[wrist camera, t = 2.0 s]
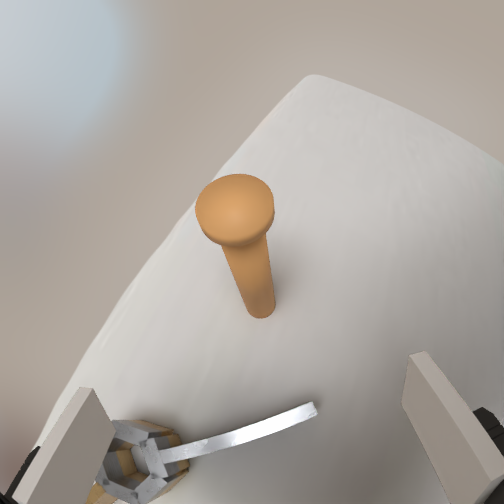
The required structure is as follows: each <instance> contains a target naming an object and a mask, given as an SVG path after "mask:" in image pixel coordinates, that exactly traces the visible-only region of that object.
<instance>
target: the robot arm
mask: <svg viewBox="0 0 504 504" xmlns="http://www.w3.org/2000/svg"><path fill="white" fill-rule="evenodd" d="M401 405H402V407H403V409H404V410H405V412H406V414H407V416H408V418H409V420H410V422H411V424H412V426H413V427H414V429H415V431H416V433H417V435H418V437H419V439H420V441H421V443H422V445H423V447H424V449H425V451H426V453H427V455H428V457H429V459H430V461H431V463H432V465H433V467H434V469H435V471H436V473H437V475H438V478H439V480H440V482H441V484H442V486H443V488H444V490H445V492H446V495H447V497H448V499H449V501H450V503H451V504H483V503H484V504H504V428H503V426H502V425H500V422H499V421H498V420H497V418H496V417H495V416H494V414H493V413H491V412H489V411H488V410H486V409H484V408H483V407H482V408H479V409H477V410H475V411H473V412H472V411H471V410H470V408H469V407H468V405H467V404H466V403H465V401H464V400H463V399H462V397H461V396H460V395H459V393H458V392H457V391H456V389H455V388H454V387H453V385H452V384H451V383H450V382H449V380H448V379H447V378H446V376H445V375H444V374H443V372H442V371H441V370H440V369H439V367H438V366H437V365H436V364H435V362H434V361H433V360H432V359H431V357H430V356H429V355H428V354H427V352H426V351H422V352H418V353H415V354H411V355H409V358H408V365H407V372H406V378H405V384H404V389H403V395H402V400H401ZM115 432H116V429H115V428H114V426H113V424H112V422H111V421H110V419H109V417H108V415H107V414H106V412H105V410H104V408H103V406H102V405H101V403H100V401H99V399H98V397H97V395H96V393H95V391H94V389H93V388H83V387H79V389H78V390H77V392H76V393H75V395H74V396H73V398H72V399H71V401H70V402H69V404H68V405H67V407H66V408H65V410H64V411H63V413H62V414H61V416H60V418H59V419H58V421H57V422H56V424H55V425H54V427H53V428H52V430H51V432H50V433H49V435H48V436H47V438H46V440H45V441H44V443H43V444H42V446H41V447H40V446H38V447H36V448H35V449H34V450H33V451H32V452H31V453H30V454H29V455H28V457H27V459H26V460H25V464H23V465H22V467H21V470H20V471H19V472H18V474H17V475H16V477H15V479H14V480H13V482H12V484H11V485H10V487H9V489H8V491H7V492H6V494H5V495H3V494H2V493H1V492H0V504H85V503H86V500H87V498H88V495H89V493H90V490H91V488H92V486H93V483H94V481H95V478H96V476H97V474H98V471H99V469H100V467H101V464H102V462H103V460H104V457H105V455H106V453H107V450H108V448H109V446H110V444H111V441H112V439H113V437H114V435H115Z"/></svg>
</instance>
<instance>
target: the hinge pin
mask: <svg viewBox="0 0 504 504" xmlns="http://www.w3.org/2000/svg"><path fill="white" fill-rule="evenodd" d="M195 213H196V217H197V220H198V222H199V224H200V226H201V229H202V231H203V232H204V234H205V235H206V236H207V237H208V238H209V239H210V240H211V241H213V242H215V243H217V244H219V245H221V246H222V249H223V251H224V254H225V256H226V259H227V261H228V264H229V266H230V269H231V271H232V274H233V276H234V279H235V281H236V284H237V286H238V289H239V291H240V294H241V296H242V298H243V301H244V303H245V306H246V308H247V311H248V312H249V314H250V315H252V316H253V317H255V318H265V317H268V316H269V315H271V314H272V312H273V311H274V309H275V297H274V290H273V283H272V275H271V268H270V261H269V254H268V247H267V240H266V232H267V231H268V230H269V228H270V227H271V225H272V223H273V220H274V214H275V211H274V200H273V195H272V192H271V190H270V188H269V187H268V186H267V185H266V183H264V182H263V181H262V180H260V179H259V178H256V177H254V176H251V175H246V174H232V175H227V176H224V177H221V178H219V179H217V180H215V181H213V182H212V183H210V184H209V185H208V186H206V187H205V188H204V190H203V191H202V192H201V193H200V195H199V197H198V199H197V202H196V206H195Z"/></svg>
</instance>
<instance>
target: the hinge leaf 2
mask: <svg viewBox="0 0 504 504" xmlns="http://www.w3.org/2000/svg"><path fill="white" fill-rule="evenodd" d="M316 415H318V414H317V411H316V409H315V407H314V405H313V402H312V401H311V402H307V403H305V404H302V405H300V406H298V407H295V408H293V409H290V410H288V411H285V412H283V413H280V414H277V415H275V416H272V417H270V418H267V419H264V420H261V421H259V422H256V423H253V424H250V425H247V426H244V427H241V428H238V429H235V430H232V431H229V432H226V433H222V434H219V435H216V436H212V437H209V438H205V439H202V440H198V441H194V442H191V443H187V444H183V445H179V446H175V447H172V448H171V445H170V443H169V440H168V437H167V436H162V437H161V435H162V431H160V430H157V429H154V428H150V427H147V426H144V425H141V424H138V423H135V422H132V421H129V420H112V421H111V422H112V424H113V426H114V428H115V429H116V432H115V435H114V437H113V439H112V441H111V444H110V446H109V448H108V450H107V453H106V455H105V457H104V460H103V462H102V464H101V467H100V469H99V471H98V474H97V476H96V478H95V481H96V482H98V483H99V484H100V485H99V484H98V486H102V488H104V489H105V490H104V491H106V492H105V493H107V494H109V495H111V496H114V497H116V498H118V499H121V500H123V501H125V502H128V503H130V504H147V503H149V502H151V501H153V500H154V499H156V498H157V497H159V496H160V495H161V494H162V493H163V492H164V491H165V490H166V489H167V488H168V487H169V486H170V485H171V484H172V483H173V482H174V481H175V480H176V479H177V478H178V477H179V476H178V475H177V474H176V473H177V472H179V471H180V469H179V466H178V464H177V461H179V460H184V459H188V458H192V457H196V456H200V455H204V454H208V453H211V452H215V451H219V450H222V449H226V448H229V447H232V446H235V445H239V444H242V443H245V442H248V441H251V440H254V439H257V438H260V437H263V436H266V435H268V434H271V433H274V432H277V431H279V430H282V429H284V428H287V427H290V426H292V425H295V424H297V423H300V422H302V421H304V420H307V419H309V418H312V417H314V416H316ZM125 441H127V442H129V443H132V444H135V445H137V446H140V447H141V450H142V452H143V455H144V458H145V461H146V464H147V466H148V469H149V472H150V475H149V476H148V477H147V478H146V479H145V480H144V481H143V482H139V481H137V480H134V479H131V478H129V477H126V476H124V474H123V471H122V469H121V466H120V463H119V460H118V457H117V454H116V451H117V450H118V449H119V447H120V446H121V445H122V444H123V443H124V442H125ZM96 484H97V483H96ZM102 490H103V489H102Z"/></svg>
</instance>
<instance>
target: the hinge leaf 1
mask: <svg viewBox="0 0 504 504" xmlns="http://www.w3.org/2000/svg"><path fill="white" fill-rule="evenodd" d="M129 421H132V422H135V423H138V424H141V425H144V426H147V427H150V428H154V429H157V430H160V431H162V435H161V437H162V436H167V437H168V440H169V443H170V445H171V448H172V447H175V446H179V445H182V443H181V441H180V438H179V435H178V434H175V435H173V429H169V428H166V427H162V426H159V425H155V424H152V423H149V422H146V421H143V420H129ZM133 446H134V444H132V443H129V442H127V441H125V442H124V443H123V444H122V445H121V446H120V447H119V449H118V450H117V451H116V454H117V457H118V460H119V463H120V466H121V469H122V471H123V474H124V476H126V477H129V478H131V479H134V480H137V481H139V482H143V481H144V480H145V479H146V478H147V477H148V476H149V475H146V474H143V473H140V472H138V471H137V469H136V466H135V463H134V460H133V457H132V455H131V452H130V449H131V448H132V447H133ZM177 464H178V466H179V469H180V471H179V472H177V473H176V474H177V475H178V476H179V477H178V478H177V479H176V480H175V481H174V482H173V483H172V484H171V485H170V486H169V487H168V488H167V489H166V490H165V491H164V492H163V493H162V494H161V495H160V496H162V495H163V494H165V493H167V492H168V491H169V490H171V489H172V488H173V487H174V486H175V485H176V484H177V483H178V482H179V481H180V480H181V479H182V478H183V477H184V476H185V475H186V474H187V473H188V472H189V471H188V470H187V469H186V468H187V467H189V466H190V464H189V462H188V459H184V460H179V461H177ZM96 483H97V484H96ZM96 483H95V484H94V485H93V486H92V488H91V490H90V493H89V495H88V498H87V500H86V503H85V504H112V503H114V502H115V501H116V500H117V499H118V498H116V497H114V496H111V495H109V494H107V493H105V492H106V491H104V490H105V489H104V488H102V486H98V484H99V483H98V482H96ZM99 485H100V484H99ZM102 489H103V490H102ZM160 496H159V497H160ZM157 498H158V497H157Z"/></svg>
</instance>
